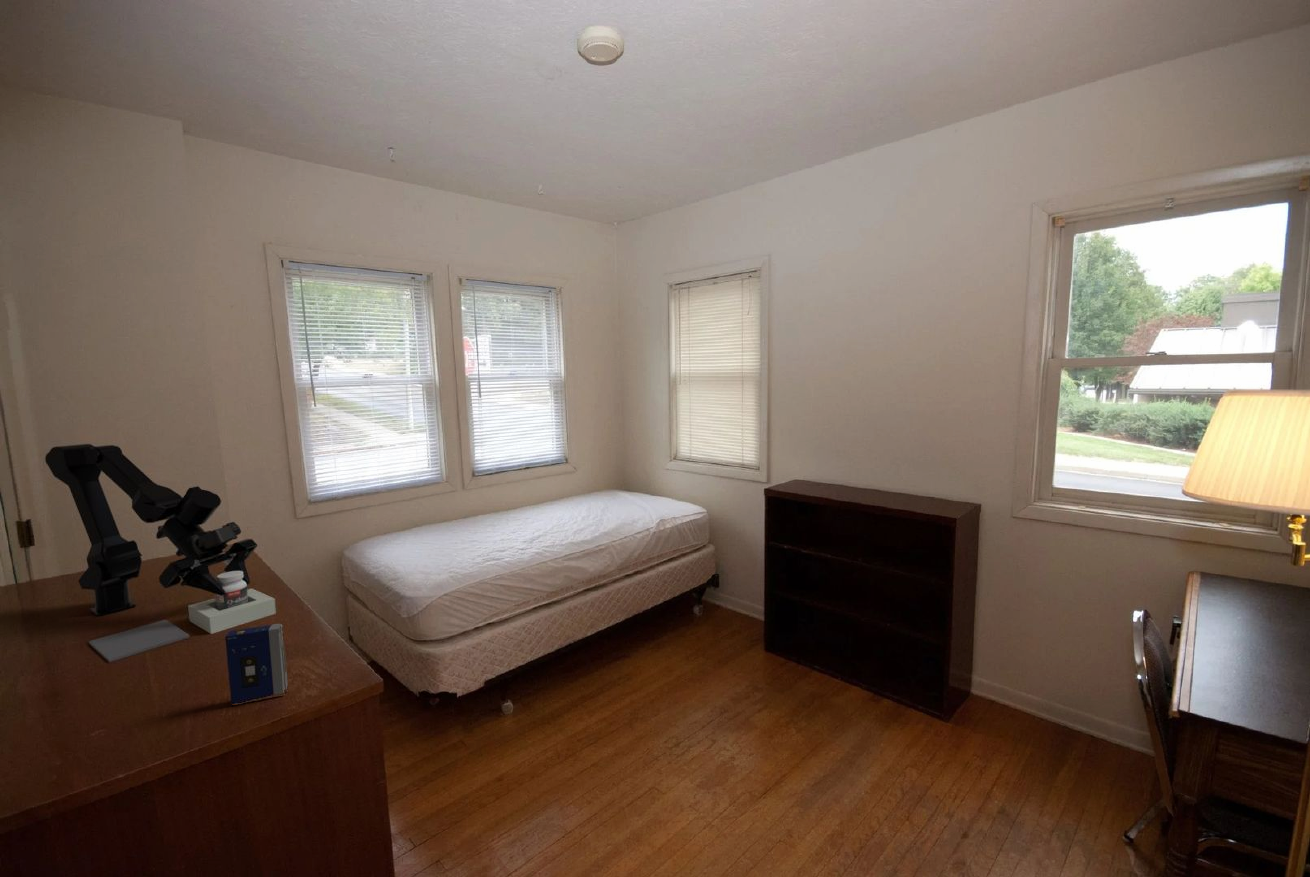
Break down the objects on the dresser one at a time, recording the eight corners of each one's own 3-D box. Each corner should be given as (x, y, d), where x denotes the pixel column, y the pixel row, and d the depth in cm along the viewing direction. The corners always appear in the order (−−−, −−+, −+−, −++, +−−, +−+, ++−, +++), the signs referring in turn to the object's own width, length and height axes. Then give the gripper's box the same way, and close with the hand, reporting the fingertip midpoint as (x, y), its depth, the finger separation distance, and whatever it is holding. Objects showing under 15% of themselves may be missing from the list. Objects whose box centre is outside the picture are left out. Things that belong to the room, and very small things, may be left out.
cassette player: (230, 707, 88) (224, 635, 86) (235, 699, 90) (228, 629, 89) (285, 696, 91) (279, 626, 89) (288, 689, 93) (282, 621, 92)
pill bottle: (231, 623, 119) (227, 579, 118) (210, 621, 120) (206, 577, 119) (255, 613, 124) (252, 570, 123) (235, 611, 126) (231, 569, 125)
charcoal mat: (88, 643, 110) (88, 641, 110) (165, 621, 120) (165, 619, 120) (109, 662, 103) (108, 659, 102) (189, 637, 113) (189, 634, 112)
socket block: (189, 621, 120) (188, 605, 120) (252, 602, 130) (251, 588, 130) (211, 634, 114) (209, 617, 114) (275, 613, 124) (274, 598, 124)
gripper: (164, 525, 111) (215, 580, 111) (247, 505, 130) (291, 552, 129) (137, 560, 114) (186, 615, 113) (222, 536, 132) (265, 583, 131)
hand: (236, 589), depth 121 cm, fingers closed on pill bottle, 6 cm apart
